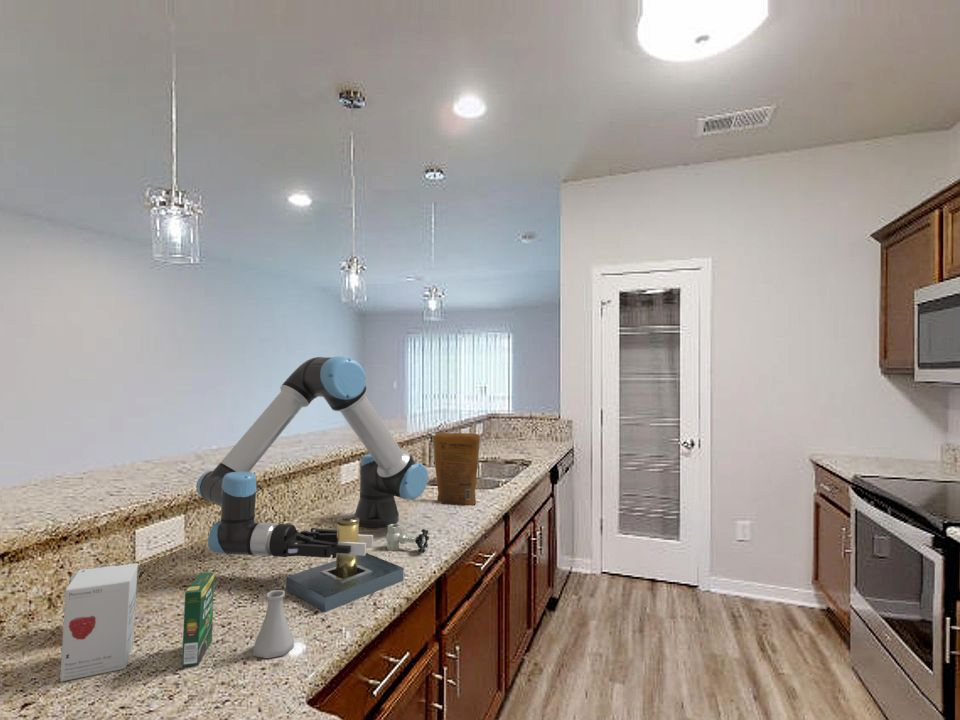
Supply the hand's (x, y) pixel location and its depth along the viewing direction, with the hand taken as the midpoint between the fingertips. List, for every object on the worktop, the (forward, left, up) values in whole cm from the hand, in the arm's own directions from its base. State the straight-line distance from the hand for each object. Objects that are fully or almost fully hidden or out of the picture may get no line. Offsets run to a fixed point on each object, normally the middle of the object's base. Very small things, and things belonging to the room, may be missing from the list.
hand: (368, 545), depth 118 cm
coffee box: (+38, +1, -10) cm, 39 cm away
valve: (-22, -12, -10) cm, 27 cm away
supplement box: (+50, -9, -10) cm, 52 cm away
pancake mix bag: (-70, -35, -10) cm, 79 cm away
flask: (+28, +9, -10) cm, 31 cm away
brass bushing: (+3, -4, -8) cm, 10 cm away
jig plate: (+3, -4, -10) cm, 11 cm away
